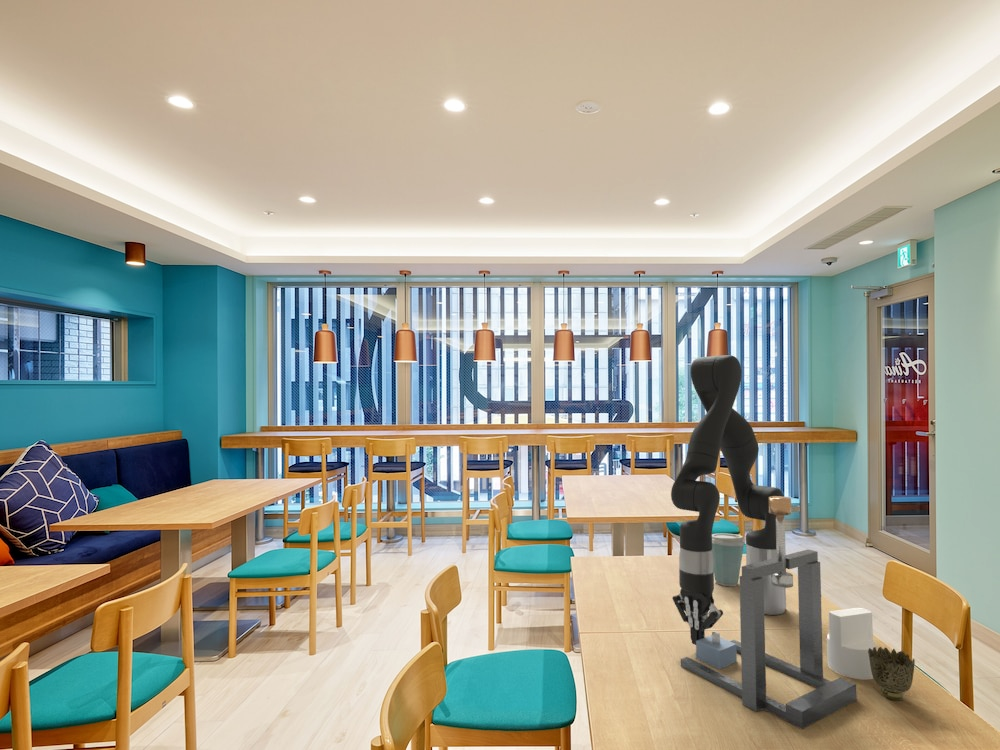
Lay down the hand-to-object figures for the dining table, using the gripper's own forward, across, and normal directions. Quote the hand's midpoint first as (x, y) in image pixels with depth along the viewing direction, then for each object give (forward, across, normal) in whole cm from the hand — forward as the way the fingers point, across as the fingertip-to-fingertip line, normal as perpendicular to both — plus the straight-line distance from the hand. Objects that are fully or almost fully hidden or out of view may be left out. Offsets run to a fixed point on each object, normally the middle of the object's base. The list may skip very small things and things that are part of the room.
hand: (697, 644), depth 129 cm
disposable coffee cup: (+2, +26, -45) cm, 52 cm away
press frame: (+2, -16, 0) cm, 16 cm away
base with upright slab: (+2, -23, -21) cm, 31 cm away
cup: (+2, -33, -16) cm, 37 cm away
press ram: (-19, -21, 0) cm, 29 cm away
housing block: (+2, -5, 0) cm, 5 cm away
